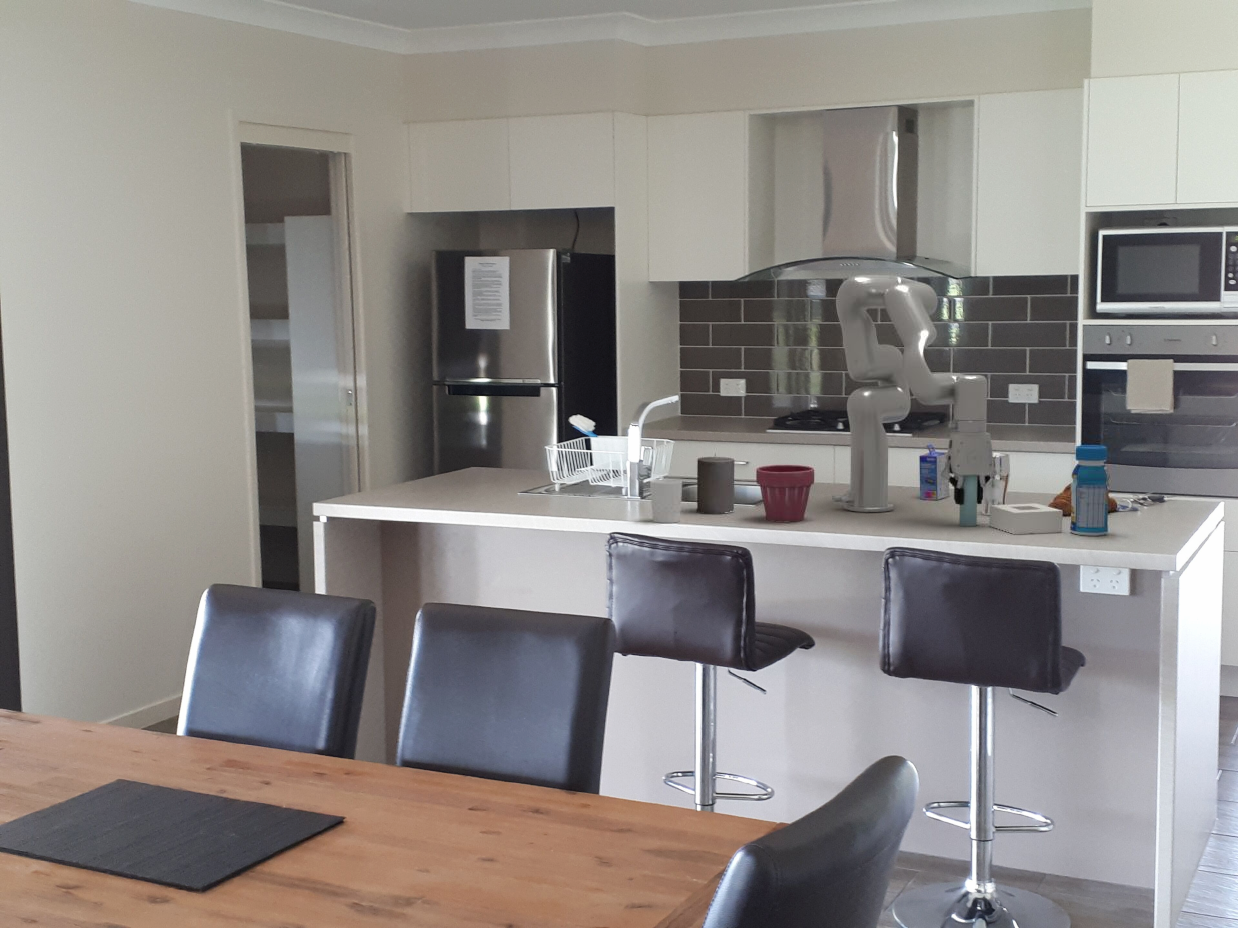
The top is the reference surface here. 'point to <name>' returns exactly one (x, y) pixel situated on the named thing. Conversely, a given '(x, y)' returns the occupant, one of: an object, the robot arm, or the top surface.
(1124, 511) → the top surface
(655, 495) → the white cup
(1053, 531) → the socket block
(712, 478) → the pillar candle
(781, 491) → the plant pot
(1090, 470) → the beverage bottle
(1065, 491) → the pastry
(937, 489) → the ink cartridge box
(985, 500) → the beer glass
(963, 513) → the peg
